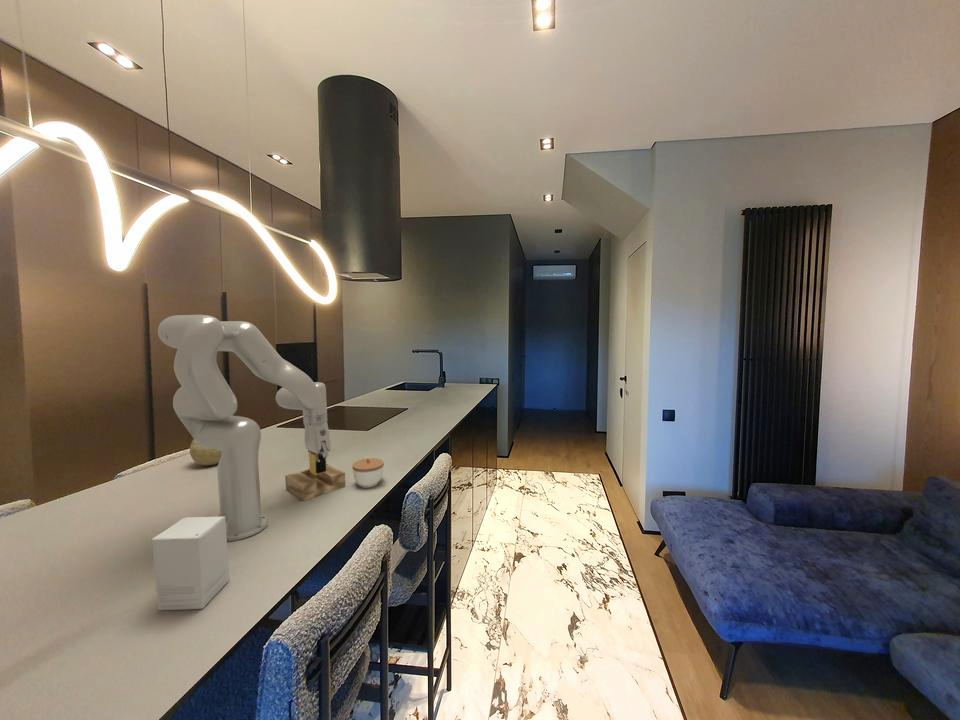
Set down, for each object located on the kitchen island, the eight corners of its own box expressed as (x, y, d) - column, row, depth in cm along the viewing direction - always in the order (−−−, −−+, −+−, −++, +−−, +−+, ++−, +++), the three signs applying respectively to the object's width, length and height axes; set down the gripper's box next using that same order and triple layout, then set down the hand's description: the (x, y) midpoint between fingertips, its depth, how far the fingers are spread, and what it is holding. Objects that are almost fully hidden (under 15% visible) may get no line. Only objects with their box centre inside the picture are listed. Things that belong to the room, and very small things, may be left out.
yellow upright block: (315, 475, 127) (314, 455, 127) (310, 472, 130) (308, 452, 129) (326, 471, 130) (325, 452, 130) (321, 468, 133) (320, 449, 132)
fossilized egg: (200, 472, 145) (197, 434, 144) (184, 466, 152) (182, 430, 150) (235, 462, 156) (233, 427, 155) (219, 457, 163) (217, 423, 161)
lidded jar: (346, 487, 132) (345, 461, 131) (368, 476, 142) (367, 452, 141) (369, 493, 127) (368, 466, 126) (390, 481, 137) (389, 456, 136)
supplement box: (231, 579, 83) (227, 515, 82) (203, 610, 74) (198, 537, 73) (189, 580, 83) (184, 515, 82) (155, 611, 74) (150, 538, 73)
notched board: (302, 501, 121) (301, 486, 121) (285, 489, 130) (285, 475, 129) (345, 486, 132) (345, 472, 132) (327, 476, 141) (327, 463, 141)
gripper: (338, 420, 125) (340, 473, 127) (314, 413, 136) (317, 461, 138) (315, 425, 120) (318, 480, 122) (293, 417, 131) (296, 467, 133)
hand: (318, 470), depth 130 cm, fingers closed on yellow upright block, 4 cm apart
